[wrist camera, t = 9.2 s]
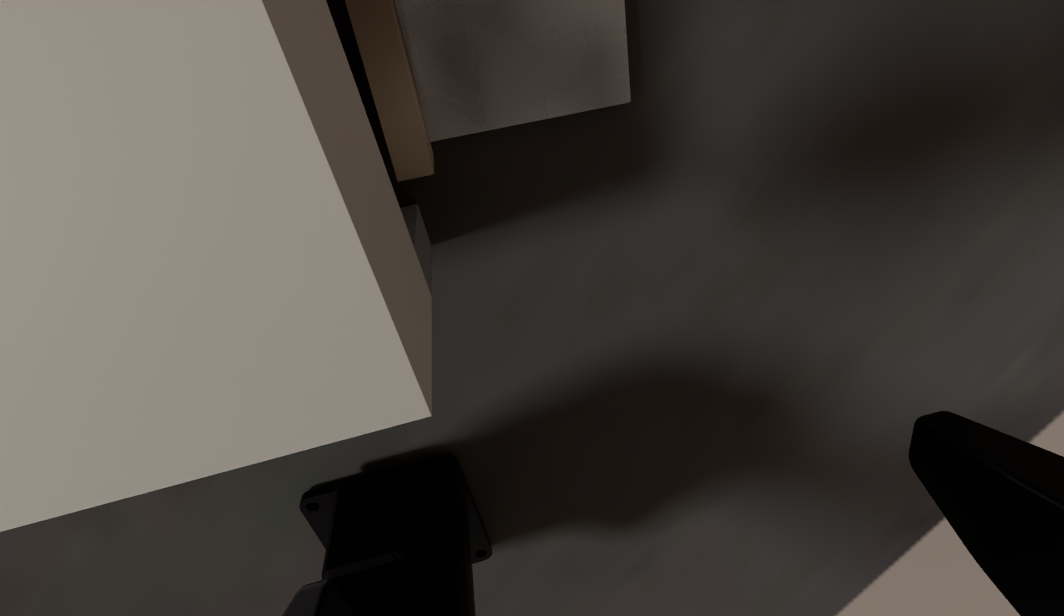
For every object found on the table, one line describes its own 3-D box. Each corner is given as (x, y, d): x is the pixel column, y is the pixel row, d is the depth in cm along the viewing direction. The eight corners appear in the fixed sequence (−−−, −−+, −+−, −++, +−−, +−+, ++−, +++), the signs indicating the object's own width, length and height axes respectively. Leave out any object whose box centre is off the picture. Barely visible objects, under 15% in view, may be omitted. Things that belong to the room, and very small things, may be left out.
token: (619, 94, 18) (630, 101, 17) (429, 132, 18) (429, 142, 16) (601, -147, 15) (614, -156, 14) (370, -106, 14) (365, -112, 13)
